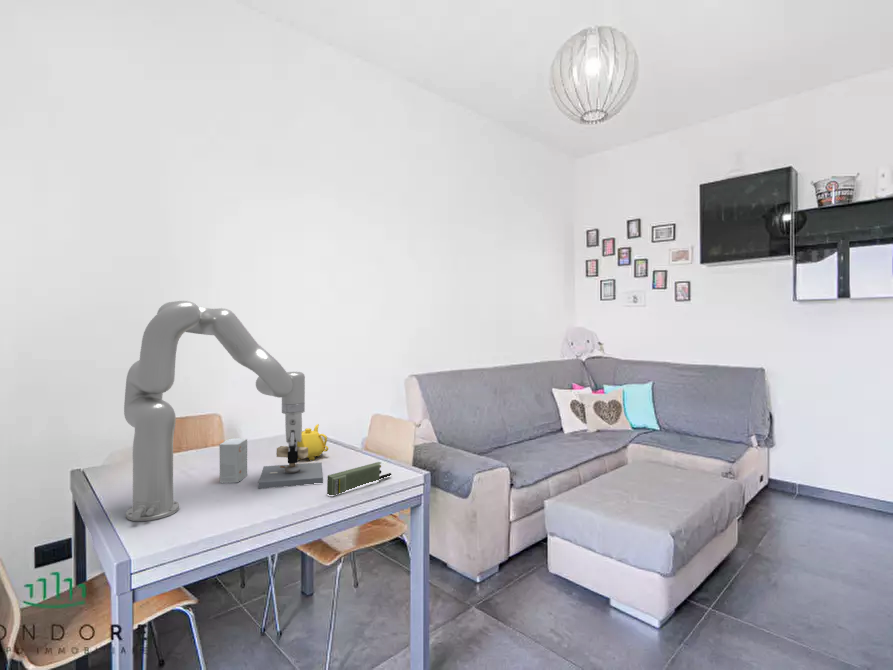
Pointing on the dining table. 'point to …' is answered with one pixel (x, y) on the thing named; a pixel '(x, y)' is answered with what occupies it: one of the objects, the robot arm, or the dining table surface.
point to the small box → (233, 460)
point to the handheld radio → (353, 478)
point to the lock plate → (290, 476)
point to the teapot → (313, 442)
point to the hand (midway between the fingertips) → (293, 460)
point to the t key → (283, 452)
